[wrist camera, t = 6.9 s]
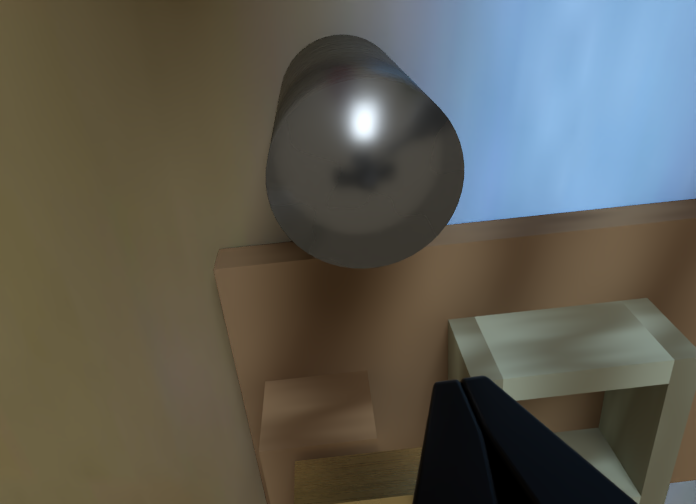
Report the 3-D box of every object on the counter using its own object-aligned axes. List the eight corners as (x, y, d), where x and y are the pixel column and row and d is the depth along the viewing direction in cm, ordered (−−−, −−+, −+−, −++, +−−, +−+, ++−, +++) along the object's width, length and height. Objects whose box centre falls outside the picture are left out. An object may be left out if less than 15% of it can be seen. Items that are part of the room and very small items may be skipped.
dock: (749, 193, 21) (866, 256, 17) (677, 454, 28) (747, 549, 23) (219, 249, 21) (196, 329, 16) (274, 501, 27) (268, 606, 23)
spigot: (396, 26, 18) (460, 63, 10) (406, 149, 19) (467, 253, 12) (269, 44, 18) (246, 95, 10) (292, 166, 19) (285, 281, 12)
